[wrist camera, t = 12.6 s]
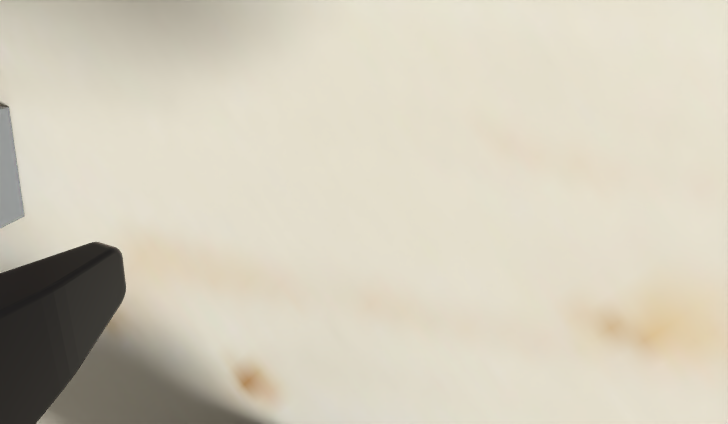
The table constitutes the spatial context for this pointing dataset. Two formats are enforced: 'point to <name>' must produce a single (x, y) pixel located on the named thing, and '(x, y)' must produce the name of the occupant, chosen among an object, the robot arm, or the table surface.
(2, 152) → the grey cube
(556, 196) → the table surface
